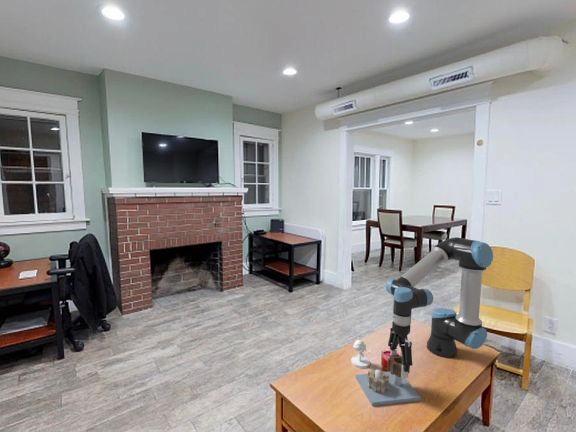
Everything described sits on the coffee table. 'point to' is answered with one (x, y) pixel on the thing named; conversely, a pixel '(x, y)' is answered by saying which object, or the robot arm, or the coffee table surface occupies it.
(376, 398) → the gear board
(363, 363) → the figurine
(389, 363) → the walnut gear
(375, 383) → the gear
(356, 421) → the coffee table surface
